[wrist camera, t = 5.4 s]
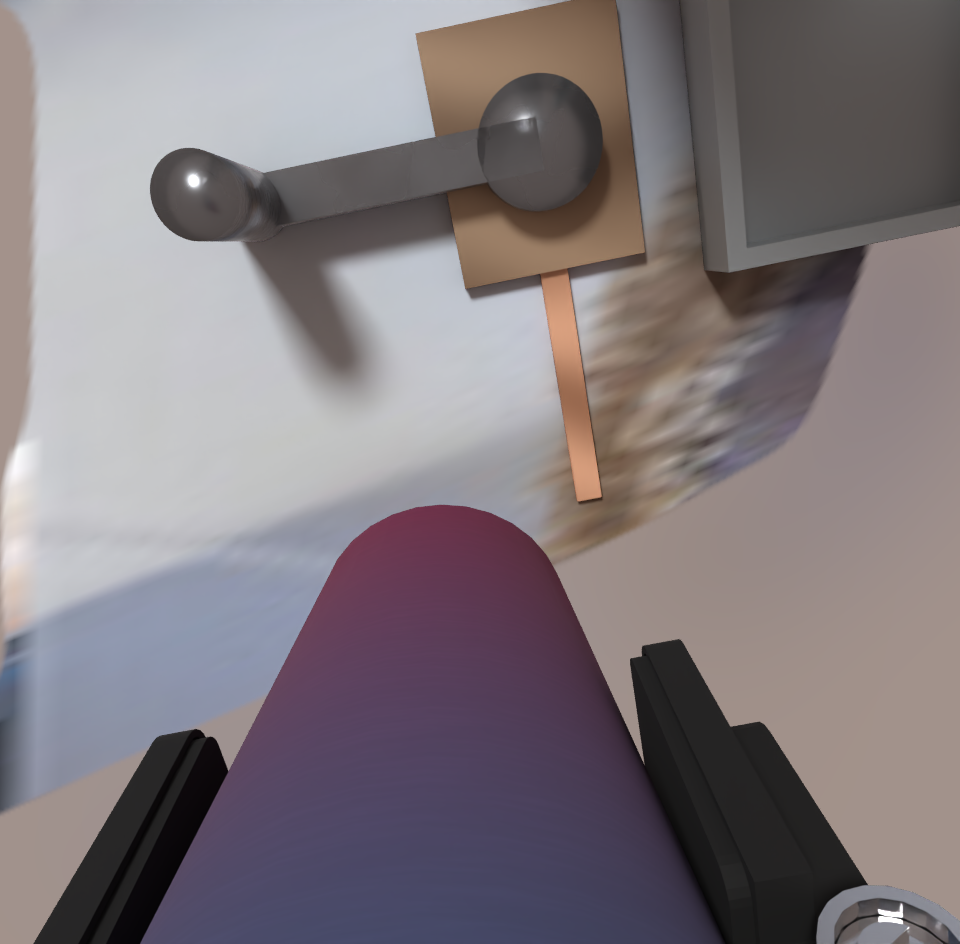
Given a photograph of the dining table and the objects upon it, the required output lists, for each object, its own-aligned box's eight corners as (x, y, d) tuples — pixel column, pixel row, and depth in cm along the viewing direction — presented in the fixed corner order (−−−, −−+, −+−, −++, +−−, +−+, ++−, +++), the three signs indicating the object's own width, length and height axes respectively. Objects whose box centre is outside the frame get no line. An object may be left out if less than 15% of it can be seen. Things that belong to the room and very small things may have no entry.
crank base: (416, 37, 29) (415, 33, 28) (611, -4, 28) (614, -9, 28) (509, 512, 35) (509, 517, 35) (668, 481, 35) (671, 485, 34)
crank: (587, 67, 28) (629, 13, 22) (604, 198, 30) (648, 186, 23) (202, 148, 29) (125, 120, 22) (238, 274, 30) (177, 283, 24)
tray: (674, -56, 28) (699, -90, 25) (992, -124, 28) (1054, -166, 25) (704, 270, 32) (729, 272, 29) (983, 213, 32) (1036, 210, 29)
